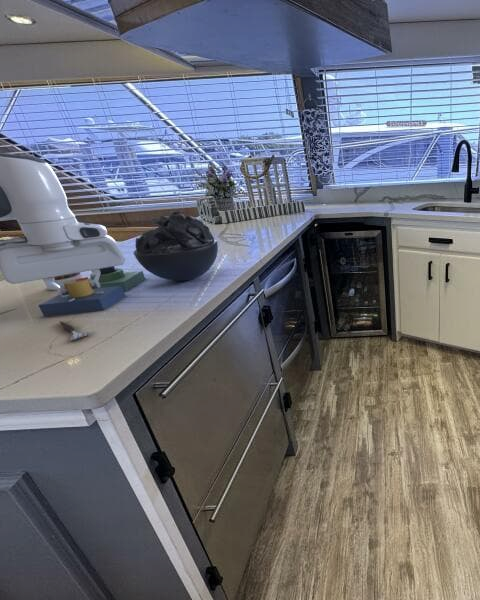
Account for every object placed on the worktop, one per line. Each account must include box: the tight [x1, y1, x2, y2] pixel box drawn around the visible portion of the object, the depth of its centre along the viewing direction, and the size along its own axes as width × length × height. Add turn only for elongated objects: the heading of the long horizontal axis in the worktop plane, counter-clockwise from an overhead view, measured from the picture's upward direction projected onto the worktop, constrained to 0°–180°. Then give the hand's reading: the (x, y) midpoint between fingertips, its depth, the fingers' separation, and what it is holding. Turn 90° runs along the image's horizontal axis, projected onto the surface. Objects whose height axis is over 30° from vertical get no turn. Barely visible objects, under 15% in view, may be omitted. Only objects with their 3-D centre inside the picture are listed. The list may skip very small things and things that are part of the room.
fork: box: [59, 320, 90, 341], centre depth 65 cm, size 3×16×2 cm, turn 57°
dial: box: [63, 276, 94, 298], centre depth 76 cm, size 4×4×4 cm
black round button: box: [100, 266, 116, 275], centre depth 88 cm, size 4×4×2 cm
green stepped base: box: [88, 267, 146, 292], centre depth 89 cm, size 12×10×4 cm
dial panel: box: [38, 286, 126, 318], centre depth 77 cm, size 12×9×3 cm
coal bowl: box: [133, 210, 219, 282], centre depth 91 cm, size 20×20×19 cm
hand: (81, 291), depth 77 cm, fingers closed on dial, 4 cm apart
